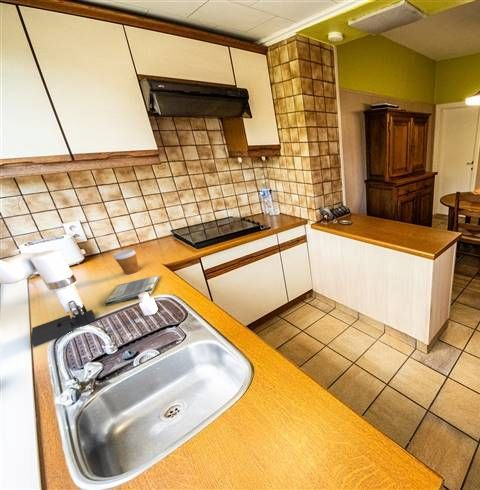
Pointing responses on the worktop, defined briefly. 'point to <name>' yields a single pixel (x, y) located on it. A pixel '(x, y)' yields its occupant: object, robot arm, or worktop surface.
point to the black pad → (89, 315)
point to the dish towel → (132, 290)
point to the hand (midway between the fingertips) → (82, 318)
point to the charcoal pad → (50, 331)
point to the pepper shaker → (147, 304)
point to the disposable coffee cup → (127, 261)
